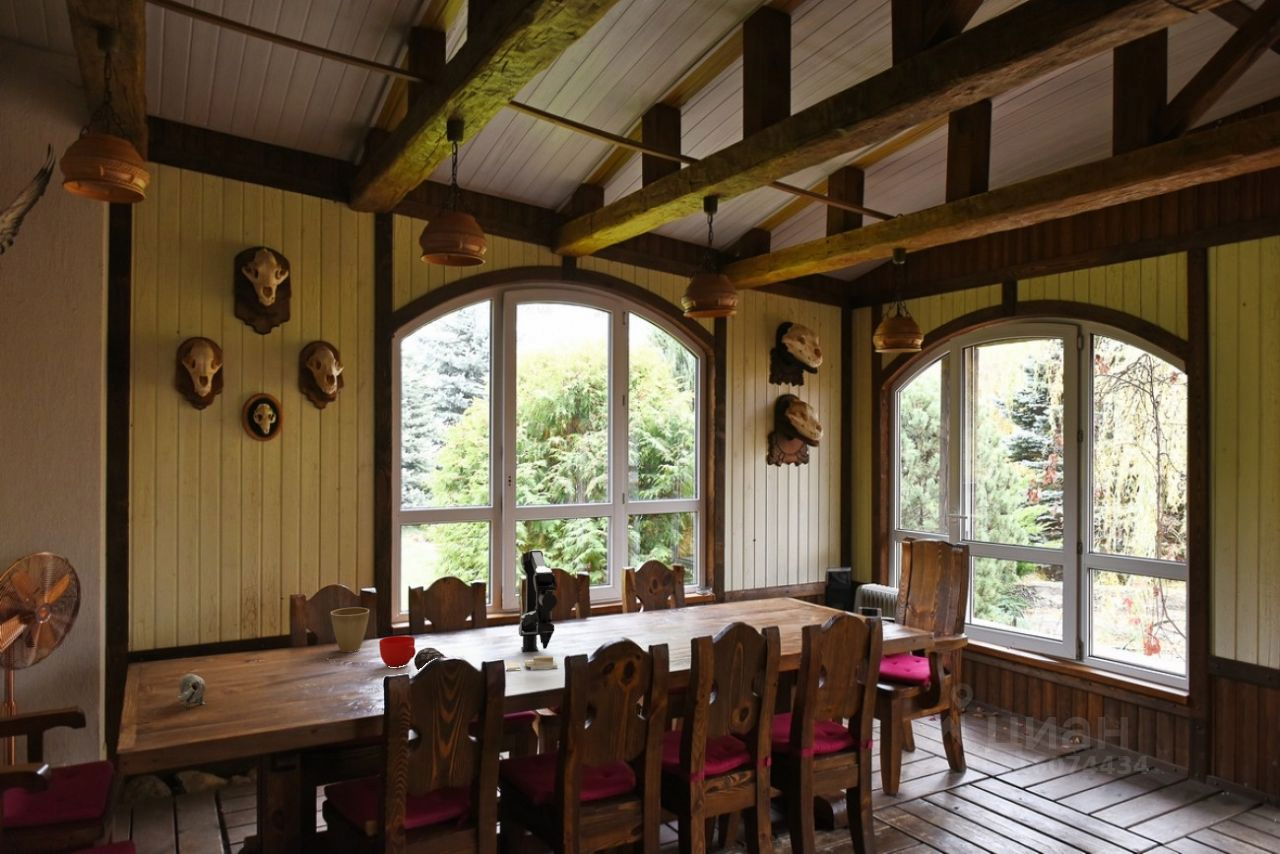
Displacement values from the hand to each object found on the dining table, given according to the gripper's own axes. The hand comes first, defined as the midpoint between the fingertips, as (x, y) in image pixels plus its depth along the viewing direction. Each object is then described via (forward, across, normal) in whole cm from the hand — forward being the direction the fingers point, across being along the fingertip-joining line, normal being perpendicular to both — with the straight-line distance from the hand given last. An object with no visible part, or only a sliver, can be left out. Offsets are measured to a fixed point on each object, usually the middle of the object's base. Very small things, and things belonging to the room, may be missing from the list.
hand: (543, 645), depth 313 cm
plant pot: (+8, -40, -75) cm, 86 cm away
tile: (+8, -5, -13) cm, 16 cm away
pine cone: (+8, +6, -40) cm, 41 cm away
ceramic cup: (+8, -10, -53) cm, 55 cm away
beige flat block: (+7, 0, -2) cm, 7 cm away
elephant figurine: (+8, +25, -115) cm, 118 cm away
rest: (+8, 0, 0) cm, 8 cm away
